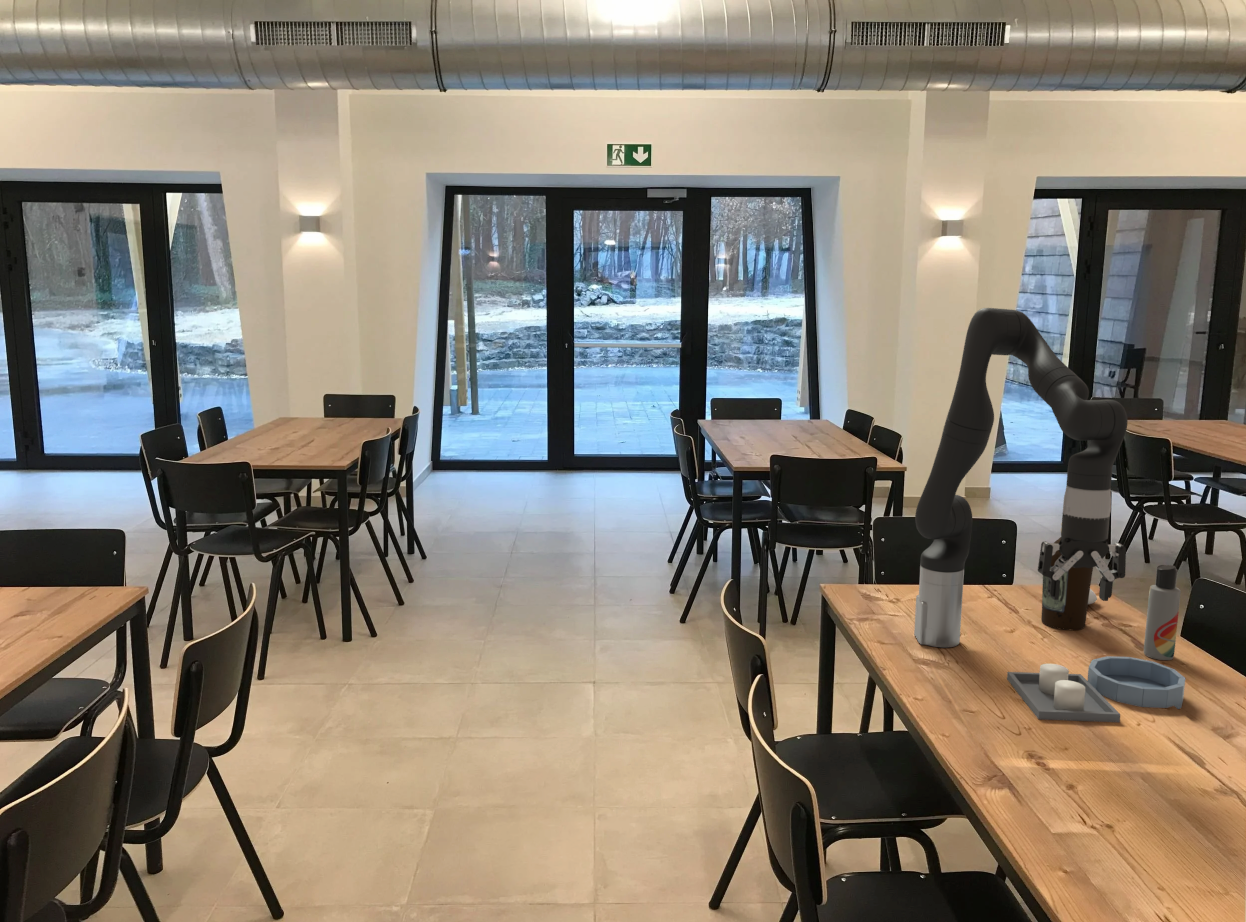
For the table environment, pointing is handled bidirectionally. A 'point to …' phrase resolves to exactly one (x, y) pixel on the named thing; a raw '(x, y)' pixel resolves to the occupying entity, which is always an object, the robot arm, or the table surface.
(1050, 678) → the marshmallow
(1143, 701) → the bowl
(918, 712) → the table surface
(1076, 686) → the white marshmallow
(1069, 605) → the olive oil
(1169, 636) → the lotion bottle
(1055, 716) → the parts tray
